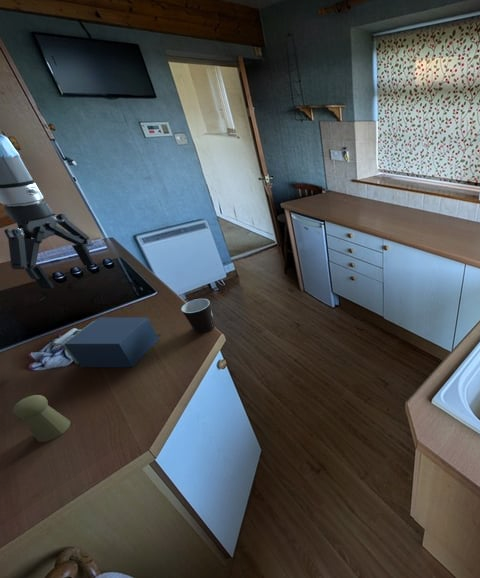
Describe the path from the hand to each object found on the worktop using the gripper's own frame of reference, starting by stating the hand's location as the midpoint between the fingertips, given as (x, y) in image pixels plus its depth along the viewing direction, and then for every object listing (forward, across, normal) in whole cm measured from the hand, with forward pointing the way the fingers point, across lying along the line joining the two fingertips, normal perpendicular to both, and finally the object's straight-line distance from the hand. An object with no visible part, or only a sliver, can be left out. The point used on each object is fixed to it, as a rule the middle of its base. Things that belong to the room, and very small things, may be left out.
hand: (70, 275), depth 85 cm
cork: (+26, -32, -10) cm, 42 cm away
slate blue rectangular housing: (+26, -5, -7) cm, 27 cm away
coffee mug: (+26, +9, -27) cm, 39 cm away
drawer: (+25, -5, -2) cm, 26 cm away
